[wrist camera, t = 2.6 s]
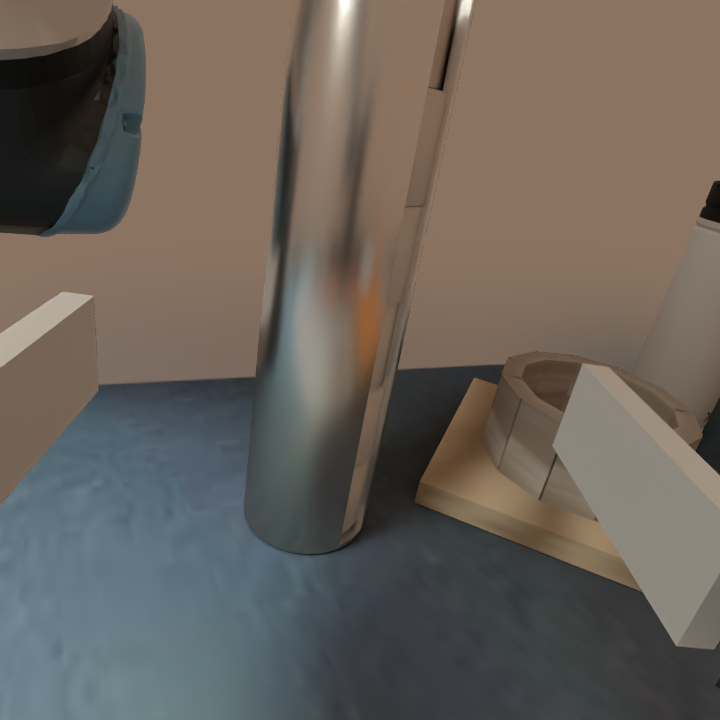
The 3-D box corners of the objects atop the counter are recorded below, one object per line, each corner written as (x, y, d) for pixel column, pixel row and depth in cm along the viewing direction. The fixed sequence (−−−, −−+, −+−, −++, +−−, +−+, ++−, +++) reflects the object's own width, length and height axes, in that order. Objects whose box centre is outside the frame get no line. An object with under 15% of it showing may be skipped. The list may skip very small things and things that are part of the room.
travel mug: (717, 451, 43) (855, 192, 35) (643, 446, 42) (767, 176, 33) (668, 410, 48) (776, 178, 40) (601, 404, 47) (698, 164, 39)
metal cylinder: (256, 565, 25) (331, -112, 15) (234, 478, 31) (277, -65, 20) (383, 545, 28) (524, -46, 17) (342, 467, 33) (431, -20, 23)
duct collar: (414, 502, 31) (439, 405, 28) (469, 393, 45) (490, 321, 42) (720, 622, 27) (785, 521, 24) (677, 460, 40) (715, 384, 38)
